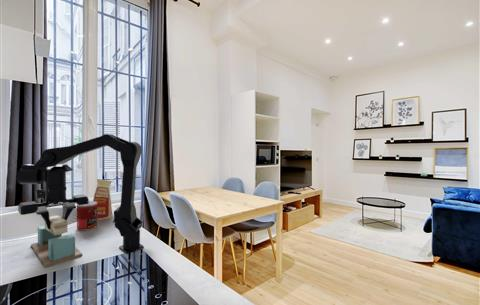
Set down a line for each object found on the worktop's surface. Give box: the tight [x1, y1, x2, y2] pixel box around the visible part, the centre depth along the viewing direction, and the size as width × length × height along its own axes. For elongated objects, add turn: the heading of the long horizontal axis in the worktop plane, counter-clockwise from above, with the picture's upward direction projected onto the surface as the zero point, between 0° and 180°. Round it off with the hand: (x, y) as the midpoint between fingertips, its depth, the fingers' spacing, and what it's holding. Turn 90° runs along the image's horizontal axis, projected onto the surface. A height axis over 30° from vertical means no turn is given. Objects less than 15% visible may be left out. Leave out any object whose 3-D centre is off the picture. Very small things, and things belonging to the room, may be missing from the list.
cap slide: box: [48, 233, 76, 261], centre depth 77 cm, size 4×6×6 cm, turn 141°
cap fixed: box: [37, 224, 63, 246], centre depth 87 cm, size 4×6×6 cm, turn 141°
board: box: [30, 241, 83, 268], centre depth 82 cm, size 21×10×1 cm, turn 51°
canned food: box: [76, 200, 98, 231], centre depth 104 cm, size 8×8×11 cm
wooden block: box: [44, 214, 68, 235], centre depth 81 cm, size 10×4×4 cm, turn 56°
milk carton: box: [92, 178, 114, 221], centre depth 118 cm, size 9×9×20 cm
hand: (56, 227), depth 81 cm, fingers closed on wooden block, 4 cm apart
